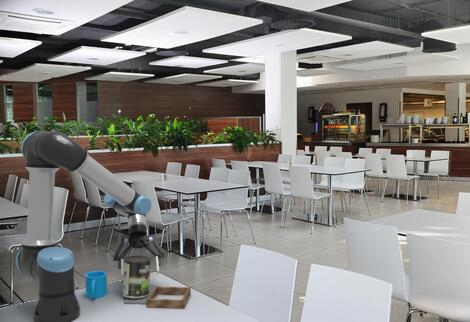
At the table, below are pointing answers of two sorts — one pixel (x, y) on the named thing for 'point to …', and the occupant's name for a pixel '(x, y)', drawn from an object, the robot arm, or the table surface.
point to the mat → (136, 300)
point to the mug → (96, 284)
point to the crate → (168, 303)
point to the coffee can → (136, 276)
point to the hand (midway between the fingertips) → (140, 274)
